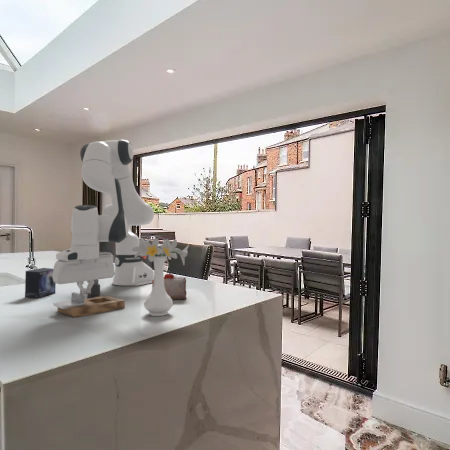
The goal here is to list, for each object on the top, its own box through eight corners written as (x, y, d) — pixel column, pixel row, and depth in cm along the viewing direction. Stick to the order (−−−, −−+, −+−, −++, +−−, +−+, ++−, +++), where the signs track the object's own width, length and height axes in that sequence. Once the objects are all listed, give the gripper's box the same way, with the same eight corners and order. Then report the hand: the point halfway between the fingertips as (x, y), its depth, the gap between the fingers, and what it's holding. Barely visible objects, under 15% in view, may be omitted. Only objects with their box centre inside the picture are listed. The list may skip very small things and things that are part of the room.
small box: (38, 298, 140) (38, 271, 140) (24, 297, 142) (24, 270, 141) (56, 293, 151) (56, 268, 151) (42, 292, 152) (42, 267, 152)
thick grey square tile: (74, 301, 123) (74, 292, 123) (84, 305, 118) (84, 295, 118) (53, 305, 118) (53, 295, 118) (62, 309, 113) (62, 298, 113)
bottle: (96, 299, 141) (96, 274, 140) (102, 300, 137) (102, 275, 137) (85, 300, 137) (85, 275, 137) (91, 302, 134) (91, 277, 134)
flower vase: (192, 316, 116) (193, 238, 116) (133, 321, 110) (134, 238, 110) (183, 307, 129) (184, 236, 128) (130, 310, 123) (130, 236, 122)
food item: (150, 300, 139) (150, 275, 139) (152, 296, 147) (152, 272, 146) (186, 300, 140) (186, 275, 140) (186, 296, 148) (186, 272, 148)
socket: (106, 302, 135) (106, 295, 135) (124, 307, 127) (124, 300, 127) (57, 310, 121) (57, 303, 121) (74, 317, 113) (74, 309, 113)
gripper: (108, 250, 132) (108, 288, 132) (50, 254, 117) (50, 297, 117) (118, 251, 128) (117, 290, 128) (59, 256, 113) (59, 300, 113)
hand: (85, 294), depth 122 cm, fingers closed
